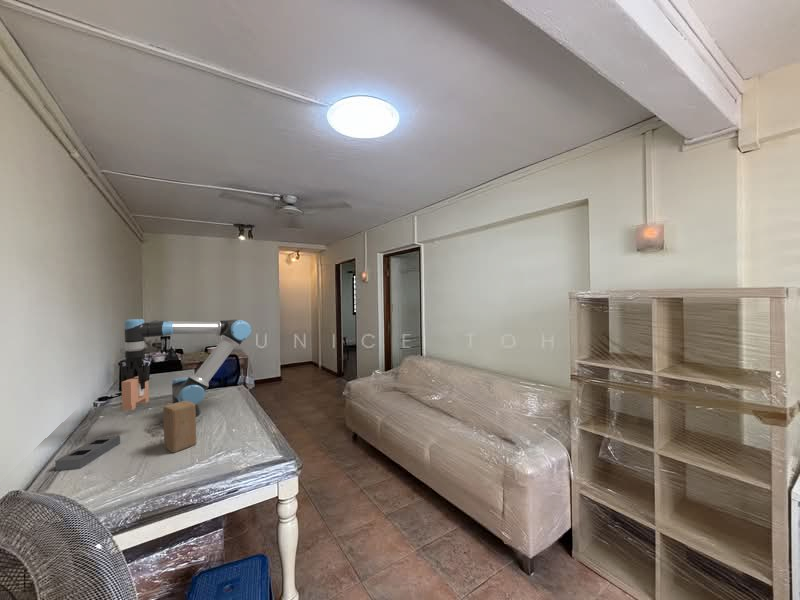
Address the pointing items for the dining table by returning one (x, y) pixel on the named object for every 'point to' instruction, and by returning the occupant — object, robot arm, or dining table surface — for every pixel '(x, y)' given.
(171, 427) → the wooden block
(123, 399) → the orange upright block
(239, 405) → the dining table surface
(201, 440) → the dining table surface
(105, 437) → the gray slotted base
